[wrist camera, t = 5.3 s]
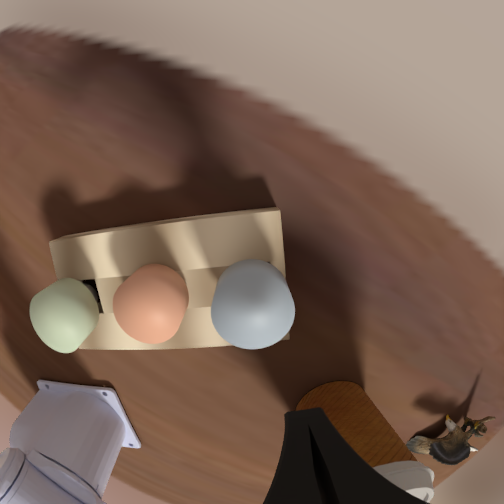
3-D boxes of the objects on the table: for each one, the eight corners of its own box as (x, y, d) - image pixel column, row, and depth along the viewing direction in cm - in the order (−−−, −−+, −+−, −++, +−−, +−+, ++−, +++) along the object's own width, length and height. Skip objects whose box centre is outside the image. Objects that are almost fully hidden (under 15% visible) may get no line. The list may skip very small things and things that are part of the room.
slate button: (223, 314, 18) (217, 352, 14) (214, 253, 17) (204, 278, 13) (285, 307, 18) (296, 344, 14) (281, 246, 17) (292, 269, 13)
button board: (90, 336, 20) (79, 348, 18) (64, 235, 18) (48, 241, 16) (286, 324, 20) (289, 339, 18) (276, 206, 18) (280, 210, 16)
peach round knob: (145, 312, 19) (123, 344, 15) (132, 258, 18) (105, 280, 14) (198, 308, 19) (187, 342, 15) (189, 252, 18) (173, 274, 14)
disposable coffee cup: (288, 362, 21) (318, 502, 9) (397, 363, 21) (468, 465, 10) (267, 441, 23) (276, 553, 11) (361, 438, 24) (397, 532, 12)
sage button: (73, 321, 18) (42, 351, 14) (58, 270, 17) (22, 292, 13) (117, 320, 18) (90, 354, 14) (103, 265, 17) (69, 289, 13)
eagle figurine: (481, 389, 22) (422, 435, 21) (505, 437, 17) (447, 488, 16) (451, 408, 27) (397, 444, 26) (471, 448, 23) (417, 488, 21)
